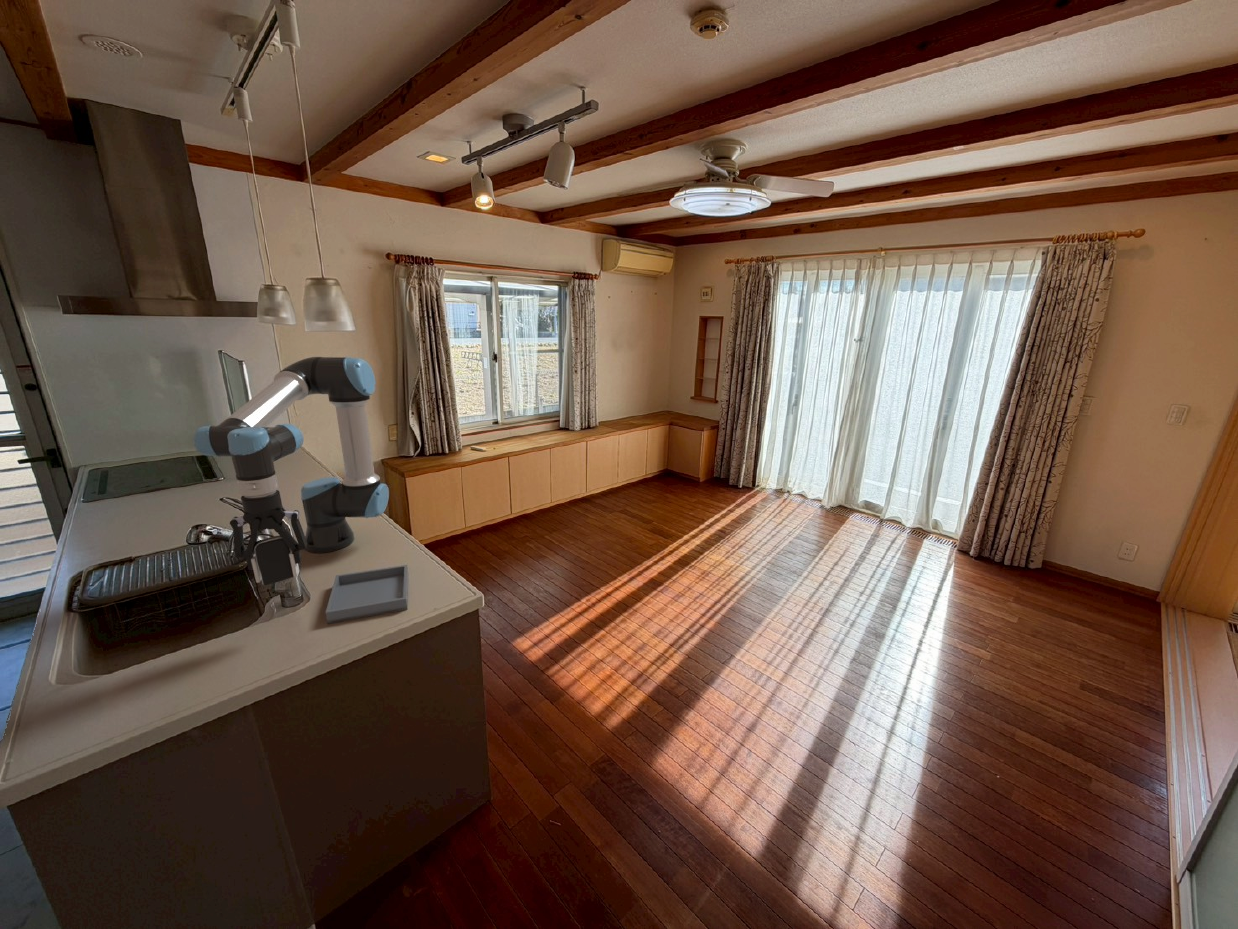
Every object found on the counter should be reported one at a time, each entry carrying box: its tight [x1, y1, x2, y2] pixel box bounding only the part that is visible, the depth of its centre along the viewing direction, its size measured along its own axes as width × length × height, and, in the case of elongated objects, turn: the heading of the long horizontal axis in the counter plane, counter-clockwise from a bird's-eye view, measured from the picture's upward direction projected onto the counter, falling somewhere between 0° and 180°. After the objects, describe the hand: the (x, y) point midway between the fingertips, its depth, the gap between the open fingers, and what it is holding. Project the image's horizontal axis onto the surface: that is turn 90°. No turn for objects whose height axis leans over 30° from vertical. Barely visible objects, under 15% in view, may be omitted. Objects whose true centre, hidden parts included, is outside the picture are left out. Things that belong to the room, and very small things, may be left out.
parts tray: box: [325, 564, 409, 625], centre depth 140 cm, size 20×20×4 cm
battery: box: [253, 534, 295, 586], centre depth 120 cm, size 7×4×11 cm, turn 135°
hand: (278, 576), depth 122 cm, fingers closed on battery, 7 cm apart
